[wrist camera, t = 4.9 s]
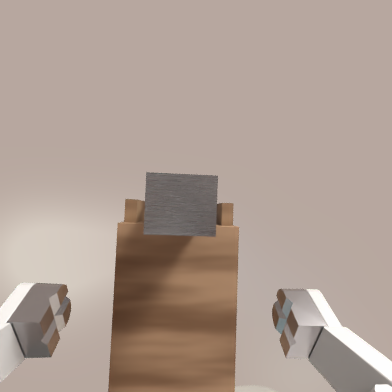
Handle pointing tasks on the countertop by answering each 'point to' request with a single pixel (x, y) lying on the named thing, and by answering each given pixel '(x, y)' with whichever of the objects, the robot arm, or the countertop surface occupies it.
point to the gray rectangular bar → (180, 204)
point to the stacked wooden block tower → (174, 307)
